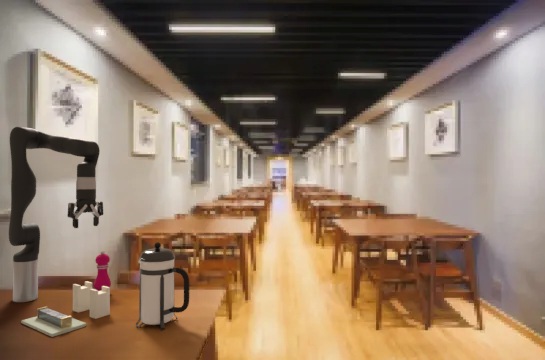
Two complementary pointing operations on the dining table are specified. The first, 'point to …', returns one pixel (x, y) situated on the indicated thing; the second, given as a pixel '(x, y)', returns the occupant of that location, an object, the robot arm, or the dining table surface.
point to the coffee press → (159, 287)
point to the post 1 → (81, 297)
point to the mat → (51, 326)
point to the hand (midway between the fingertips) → (85, 226)
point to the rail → (54, 317)
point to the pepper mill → (102, 271)
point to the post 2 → (99, 302)
